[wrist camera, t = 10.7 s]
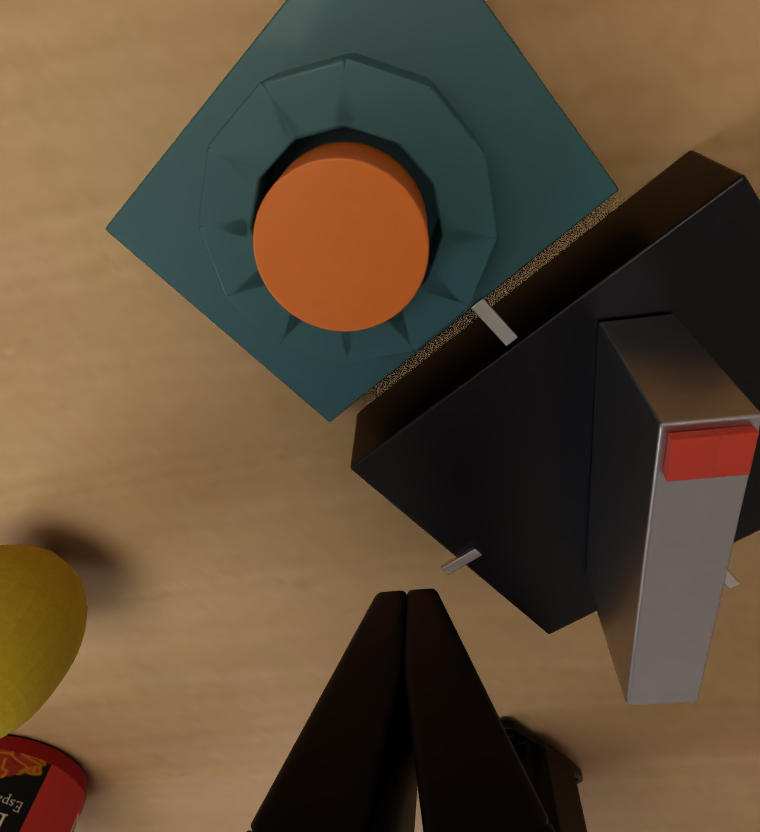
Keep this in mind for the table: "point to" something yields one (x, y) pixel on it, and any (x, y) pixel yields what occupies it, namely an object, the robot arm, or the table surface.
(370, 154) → the button
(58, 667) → the lemon
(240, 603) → the table surface
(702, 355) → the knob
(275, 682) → the table surface
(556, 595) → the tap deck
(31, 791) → the canned food
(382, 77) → the control block
